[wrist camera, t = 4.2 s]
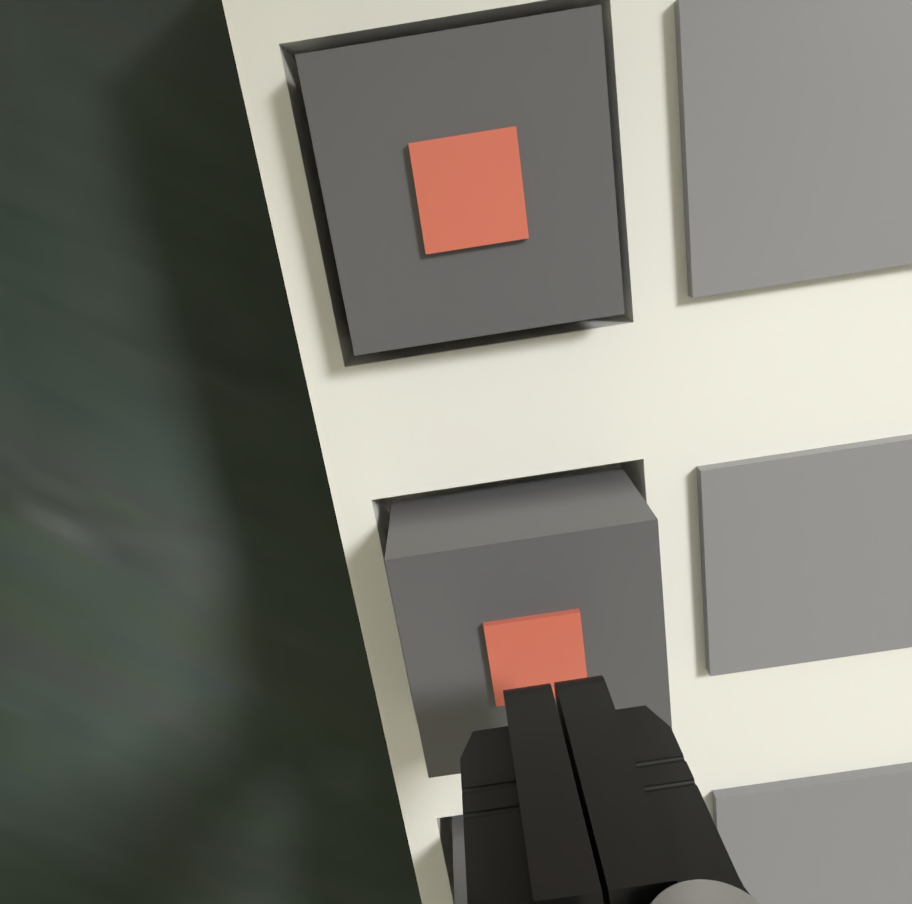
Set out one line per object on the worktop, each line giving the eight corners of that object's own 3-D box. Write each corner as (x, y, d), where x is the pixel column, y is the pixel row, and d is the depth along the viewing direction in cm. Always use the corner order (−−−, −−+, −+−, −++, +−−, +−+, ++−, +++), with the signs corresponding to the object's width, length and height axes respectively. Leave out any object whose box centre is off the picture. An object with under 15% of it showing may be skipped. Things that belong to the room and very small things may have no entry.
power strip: (233, -158, 14) (151, -302, 10) (889, -270, 13) (1081, -465, 9) (451, 911, 22) (456, 1067, 18) (854, 855, 22) (947, 1001, 18)
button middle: (392, 501, 14) (384, 563, 12) (621, 467, 14) (660, 522, 12) (429, 693, 16) (428, 782, 13) (638, 663, 16) (674, 747, 13)
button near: (318, 79, 13) (292, 52, 11) (571, 37, 13) (602, 2, 11) (366, 330, 14) (353, 357, 12) (594, 294, 14) (626, 315, 12)
